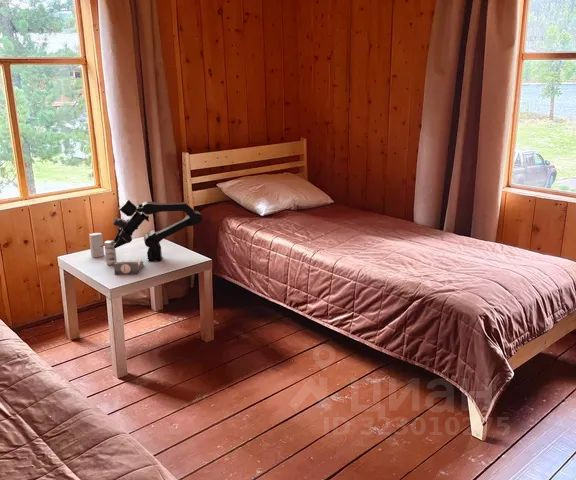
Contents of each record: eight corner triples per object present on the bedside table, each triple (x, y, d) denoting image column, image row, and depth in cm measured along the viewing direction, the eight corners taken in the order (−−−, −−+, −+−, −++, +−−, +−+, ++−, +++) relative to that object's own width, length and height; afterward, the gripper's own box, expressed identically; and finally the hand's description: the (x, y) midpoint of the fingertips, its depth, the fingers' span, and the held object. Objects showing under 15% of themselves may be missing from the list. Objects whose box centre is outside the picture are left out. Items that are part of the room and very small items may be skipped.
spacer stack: (118, 262, 286) (115, 240, 282) (115, 265, 281) (113, 243, 278) (108, 262, 286) (105, 240, 282) (105, 265, 281) (103, 243, 277)
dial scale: (143, 265, 282) (142, 254, 280) (137, 274, 269) (136, 263, 267) (121, 265, 281) (120, 255, 280) (114, 275, 268) (113, 264, 267)
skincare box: (93, 257, 293) (90, 235, 289) (90, 255, 297) (88, 233, 293) (104, 255, 296) (102, 234, 293) (102, 253, 300) (100, 232, 296)
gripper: (121, 207, 286) (100, 230, 286) (122, 216, 269) (101, 240, 269) (138, 221, 291) (118, 243, 291) (140, 230, 274) (119, 254, 274)
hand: (114, 244), depth 281 cm, fingers open, 9 cm apart
